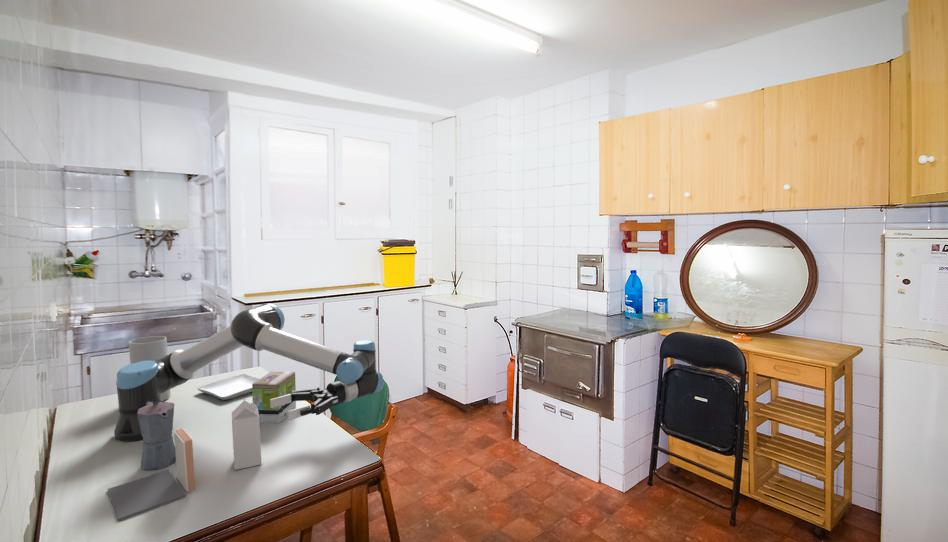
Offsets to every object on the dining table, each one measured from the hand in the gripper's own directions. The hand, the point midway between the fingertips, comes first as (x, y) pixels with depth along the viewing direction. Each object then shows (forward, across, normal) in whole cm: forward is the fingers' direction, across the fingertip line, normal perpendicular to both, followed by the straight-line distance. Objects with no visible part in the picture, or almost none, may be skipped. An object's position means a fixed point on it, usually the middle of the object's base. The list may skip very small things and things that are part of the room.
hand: (279, 409), depth 144 cm
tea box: (-10, +29, -14) cm, 34 cm away
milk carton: (+10, 0, -14) cm, 17 cm away
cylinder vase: (+19, +81, -13) cm, 85 cm away
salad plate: (-8, +68, -14) cm, 70 cm away
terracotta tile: (+26, 0, -14) cm, 29 cm away
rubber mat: (+35, +2, -13) cm, 38 cm away
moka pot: (+29, +19, -14) cm, 37 cm away
